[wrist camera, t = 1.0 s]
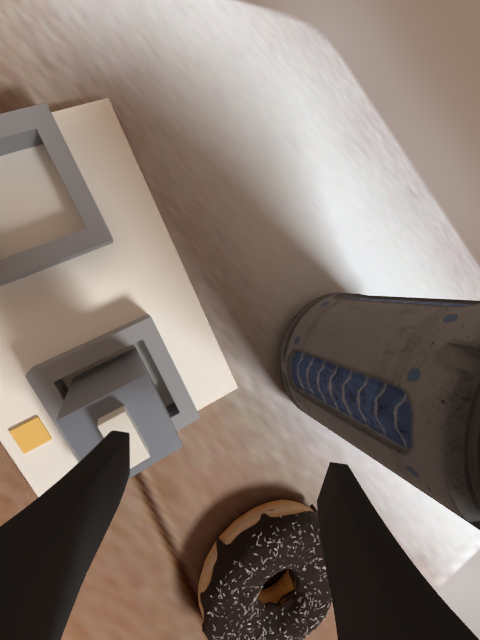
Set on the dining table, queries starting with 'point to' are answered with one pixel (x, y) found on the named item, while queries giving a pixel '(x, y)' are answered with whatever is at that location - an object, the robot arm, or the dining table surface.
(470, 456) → the beverage bottle
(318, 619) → the donut
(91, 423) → the plug
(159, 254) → the panel
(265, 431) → the dining table surface
